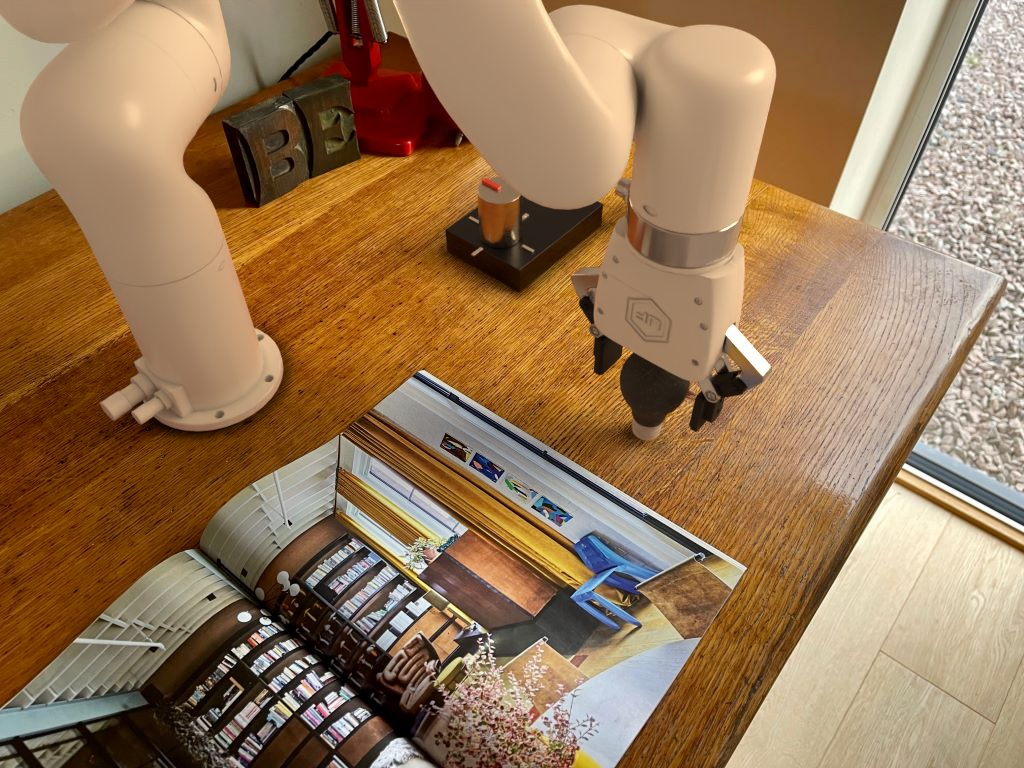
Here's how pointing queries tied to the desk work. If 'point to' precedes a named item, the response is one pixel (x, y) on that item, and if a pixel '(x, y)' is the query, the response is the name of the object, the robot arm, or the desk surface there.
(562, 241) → the black knob base
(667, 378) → the light bulb
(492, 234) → the knob
